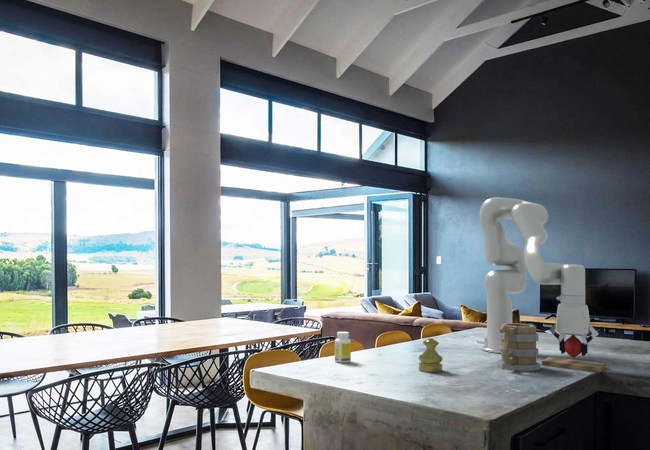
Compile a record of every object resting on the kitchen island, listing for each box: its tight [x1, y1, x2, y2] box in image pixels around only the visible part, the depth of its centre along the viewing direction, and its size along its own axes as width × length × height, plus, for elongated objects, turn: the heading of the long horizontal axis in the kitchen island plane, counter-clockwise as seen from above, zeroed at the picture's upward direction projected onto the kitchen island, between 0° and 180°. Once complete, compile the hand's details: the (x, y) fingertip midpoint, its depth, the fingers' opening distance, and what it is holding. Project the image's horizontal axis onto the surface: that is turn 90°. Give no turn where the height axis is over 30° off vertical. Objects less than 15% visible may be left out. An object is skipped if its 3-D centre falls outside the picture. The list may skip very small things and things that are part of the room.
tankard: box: [496, 322, 542, 372], centre depth 181 cm, size 20×13×15 cm, turn 135°
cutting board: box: [541, 356, 607, 373], centre depth 187 cm, size 18×10×2 cm, turn 54°
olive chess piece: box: [418, 337, 443, 374], centre depth 175 cm, size 7×7×10 cm
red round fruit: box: [564, 335, 583, 359], centre depth 187 cm, size 6×6×8 cm
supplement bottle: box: [334, 331, 352, 364], centre depth 187 cm, size 5×5×10 cm
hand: (573, 353), depth 187 cm, fingers closed on red round fruit, 5 cm apart
